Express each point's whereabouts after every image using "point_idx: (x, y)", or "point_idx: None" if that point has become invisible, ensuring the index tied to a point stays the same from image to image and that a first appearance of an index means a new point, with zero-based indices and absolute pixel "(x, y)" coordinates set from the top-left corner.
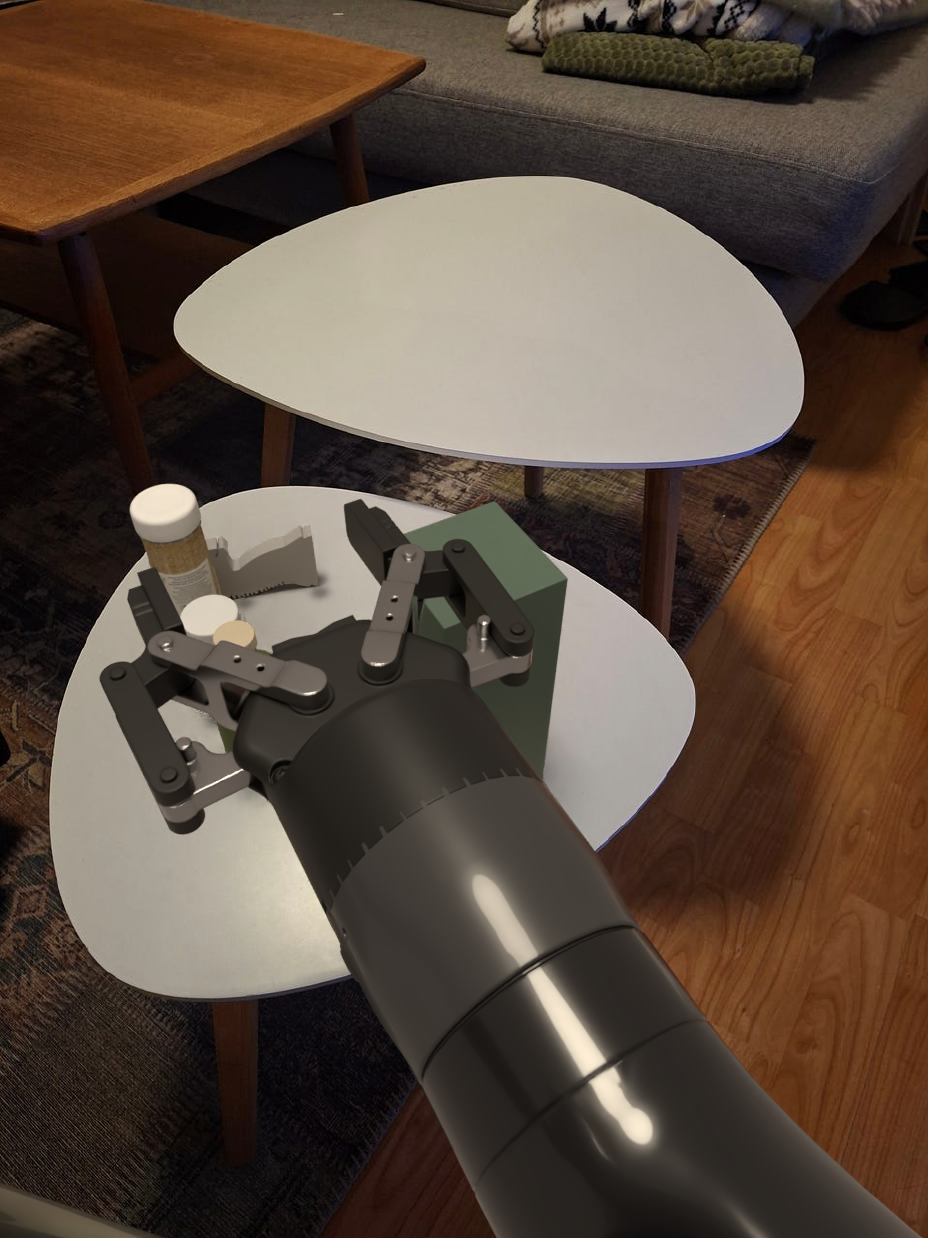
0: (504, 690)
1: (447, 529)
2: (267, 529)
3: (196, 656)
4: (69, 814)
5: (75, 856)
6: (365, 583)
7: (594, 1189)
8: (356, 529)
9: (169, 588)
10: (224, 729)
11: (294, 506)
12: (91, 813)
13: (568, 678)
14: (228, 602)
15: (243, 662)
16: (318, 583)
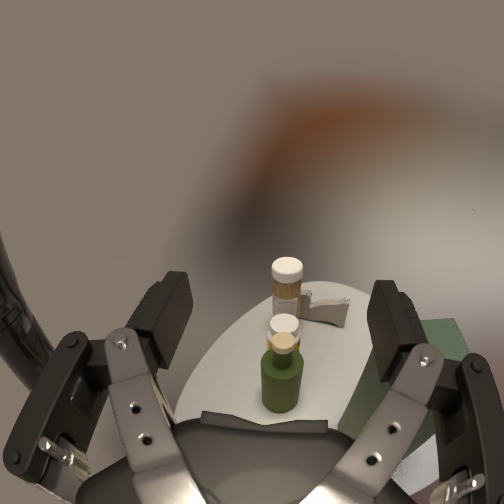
0: None
1: (424, 327)
2: (332, 295)
3: (126, 371)
4: (194, 376)
5: (186, 393)
6: (363, 334)
7: None
8: (378, 308)
9: (276, 304)
10: (262, 380)
11: (347, 290)
12: (201, 380)
13: None
14: (295, 321)
15: (139, 417)
16: (343, 326)
